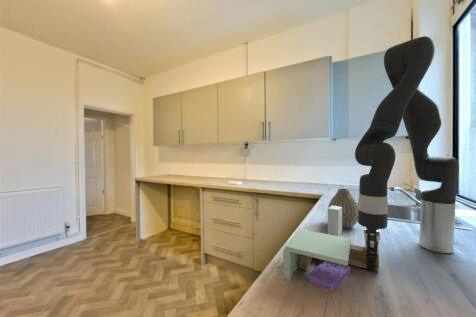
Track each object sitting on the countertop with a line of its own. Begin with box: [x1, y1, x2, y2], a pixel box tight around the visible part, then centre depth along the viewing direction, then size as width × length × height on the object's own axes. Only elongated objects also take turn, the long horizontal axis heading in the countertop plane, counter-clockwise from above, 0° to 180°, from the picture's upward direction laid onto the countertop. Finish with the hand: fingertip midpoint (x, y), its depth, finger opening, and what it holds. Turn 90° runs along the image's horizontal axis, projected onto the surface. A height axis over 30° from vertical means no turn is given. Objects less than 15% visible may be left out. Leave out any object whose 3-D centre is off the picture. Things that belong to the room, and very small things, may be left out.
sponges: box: [306, 260, 351, 292], centre depth 61 cm, size 7×13×2 cm, turn 134°
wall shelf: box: [282, 228, 352, 280], centre depth 62 cm, size 15×16×9 cm
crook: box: [299, 243, 380, 272], centre depth 64 cm, size 14×20×5 cm
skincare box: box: [327, 205, 343, 237], centre depth 89 cm, size 6×4×12 cm
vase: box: [327, 188, 358, 230], centre depth 99 cm, size 13×13×18 cm
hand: (370, 265), depth 64 cm, fingers closed on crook, 3 cm apart
